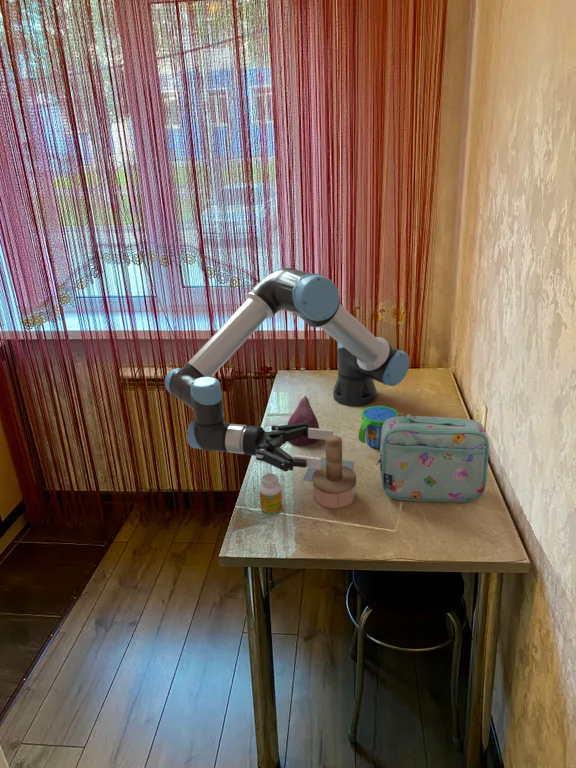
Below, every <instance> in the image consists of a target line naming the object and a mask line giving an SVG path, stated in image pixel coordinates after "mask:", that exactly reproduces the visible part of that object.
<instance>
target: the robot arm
mask: <svg viewBox="0 0 576 768" xmlns="http://www.w3.org/2000/svg"><path fill="white" fill-rule="evenodd" d="M246 298H247V299H246V300H245V301H244V302H243V303H242V304H241V305H240V307H238V309H237V310H236V311H235V312H234V313H233V314H232V315H231V316H230V317H229V318H228V319H227V320H226V321H225V322H224V323H223V324H222V326H221V327H220V328H219V329H218V330H217V331H216V332H215V333H214V334H213V335H212V336H211V338H209V339H208V341H206V343H204V345H203V346H202V347H201V348H199V350H198V351H197V352H196V353H195V354H194V355H193V356H192V358H191V359H190V360H188V362H187V363H186V364H184V366H183V367H182V368H180V367H179V368H173V369H172V370H170V371H169V372H168V373H167V374H166V375H165V378H164V387H165V389H166V390H167V392H168V393H169V394H170V395H171V396H172V397H174V398H176V399H177V400H179V401H181V402H182V403H183V404H184V405H186V406H187V407H189V408H190V409H191V410H192V411H193V417H194V419H193V420H192V421H190V423H189V425H188V427H187V434H186V441H187V443H188V445H189V447H191V448H193V449H199V450H203V451H213V452H214V451H215V452H225V453H233V454H237V455H238V454H239V455H246V456H254V457H256V458H255V460H256V461H261V462H264V463H266V464H268V465H271V466H273V467H275V468H276V469H279V470H281V471H284V472H288V471H293V470H294V468H295V467H296V468H304V469H305V468H307V469H308V468H314V469H321V458H322V457H320V458H318V457H319V456H308V455H300V454H294V455H293V456H292V455H290V454H289V453H288V452H286V451H285V450H284V449H283V448H281V447H282V446H283V445H285V444H286V443H287V442H288V441H291V440H294V439H298V438H302V437H306V436H308V438H312V439H319V440H324V441H326V438H327V437H328V436H334V430H333V429H327V428H326V429H325V428H319V429H317V428H310V427H309V424H308V423H307V422H305V423H297V424H289V425H287V424H284V425H283V424H282V425H278V424H276V425H273V424H272V425H270V428H271V430H270V431H266V430H264V428H263V427H262V426H260V425H259V426H257V425H247V424H237V423H229V422H225V416H224V415H225V414H224V403H223V392H222V389H221V383H220V381H219V379H217V378H215V377H214V375H216V373H217V372H218V371H219V370H220V369H221V368H222V366H224V365H225V363H226V362H227V361H228V360H230V358H231V357H232V356H233V355H234V354H235V353H236V352H237V350H239V348H240V347H241V346H242V345H243V344H244V343H245V342H246V341H247V340H248V339H249V337H251V335H253V334H254V333H255V331H256V330H257V329H258V328H259V327H260V326H261V325H262V324H263V323H264V321H266V319H270V318H273V317H274V316H275V315H276V314H277V313H278V312H280V311H283V310H284V311H287V312H288V313H289V312H290V313H292V314H294V315H296V316H297V317H298V318H300V319H301V320H303V321H304V322H305V323H306V324H307V325H309V326H310V327H312V328H321V330H323V331H324V332H325V333H326V334H328V335H329V336H330V337H331V338H332V339H334V340H335V341H336V342H337V378H336V381H335V384H334V387H333V391H332V394H333V395H332V397H333V399H334V401H335V402H337V403H339V404H342V405H345V406H352V407H359V406H366V405H369V404H371V403H373V402H375V401H376V399H377V394H378V393H377V386H376V384H375V382H374V381H377V382H378V383H381V384H383V385H386V386H390V387H395V386H397V385H399V384H400V383H401V382H402V381H403V380H404V378H405V377H406V375H407V373H408V371H409V367H410V356H409V355H408V353H407V352H405V351H403V350H402V349H398V348H396V347H394V346H393V345H392V344H391V343H390V342H389V341H388V340H387V339H385V338H383V337H382V336H381V337H380V336H375V335H374V334H373V333H372V332H371V331H370V330H369V329H368V328H366V326H364V324H362V323H361V322H360V321H359V320H358V319H357V318H356V317H355V316H354V315H353V314H352V313H350V312H349V311H348V310H347V309H346V308H345V307H344V306H343V305H342V304H341V298H340V295H339V290H338V287H337V285H336V284H335V282H334V281H332V280H331V279H330V278H328V277H327V276H324V275H322V274H320V273H311V272H308V271H303V270H299V269H296V268H293V267H284V268H283V267H282V268H279V269H277V270H274V271H272V272H271V273H269V274H268V275H266V276H265V277H263V278H262V279H261V280H260V281H259V282H258V283H257V284H255V285H254V286H253V287H252V288H251V289H250V291H248V293H246Z"/></svg>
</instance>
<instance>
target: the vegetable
mask: <svg viewBox="0 0 576 768" xmlns="http://www.w3.org/2000/svg"><path fill="white" fill-rule="evenodd" d="M305 422H307V423H308V424H309V427H310V428H317V429H320V426H319V425H320V424H319V422H318V418H317V416H316V415H315V413H314V410H313V408H312V407H311V404H310V400H309V399H308V397H307V395H304V396H303V397H302V398H301V399H300V401H299V403H298V405H297V407H296V408H295V410H294V412H292V414H291V416H290V417H289V418H288V422H287V424H286V425H289V424H297V423H305ZM318 441H320V439H312V438H308V436H306V437H302V438H298V439H294V440H291V441H287V442H288V443H289V444H290V445H292V446H296V447H297V446H298V447H299V446H300V447H302V446H303V447H306V446H310V445H313V444H315V443H317V442H318Z"/></svg>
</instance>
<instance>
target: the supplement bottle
mask: <svg viewBox="0 0 576 768" xmlns="http://www.w3.org/2000/svg"><path fill="white" fill-rule="evenodd" d="M259 500H260V511H261V513H262V514H263V515H264V516H266V517H268V518H270V517H271V518H272V517H273V518H274V517H277V516H279V515H281V513H282V512H283V510H284V509H283V493H282V485H281V483H280V482H279V477H278V475H277V474H275V473H271V472H270V473H266V474H264V475H262V476H261V484H260V485H259Z"/></svg>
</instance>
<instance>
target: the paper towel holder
mask: <svg viewBox="0 0 576 768" xmlns="http://www.w3.org/2000/svg"><path fill="white" fill-rule="evenodd" d="M325 458H326V466H323V467H321V469H317V470H316V471H315V472H314V473H313V476H312V480H313V481H312V484H313V487H314V486H315V487H316V488H317V489H318V490H320V491H322V492H325V493H330V494H339V493H344V492H347V491H349V490H351V489H352V488H353V487H354V486H355V484H357V474H356V473H355V471H354V469H352V470H351V469H350V468H348V467H345V466H342V460H343V439H342V437H341V436H339V435H333V436H328V437H327V438H326V440H325Z"/></svg>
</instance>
